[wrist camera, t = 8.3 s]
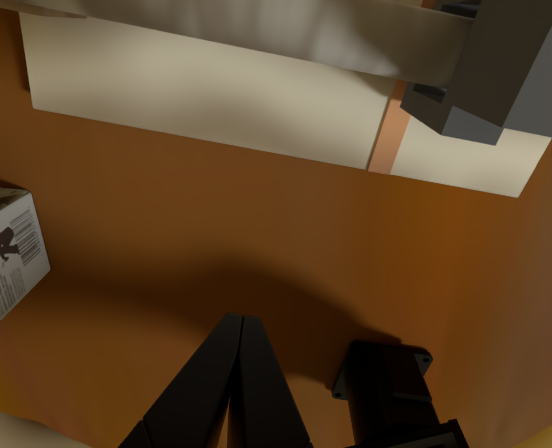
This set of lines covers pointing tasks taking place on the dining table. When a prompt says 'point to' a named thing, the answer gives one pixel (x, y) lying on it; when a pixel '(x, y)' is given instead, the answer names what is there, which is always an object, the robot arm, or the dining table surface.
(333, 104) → the pipe stand
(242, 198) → the dining table surface
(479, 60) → the dark angular block
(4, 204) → the coffee box
